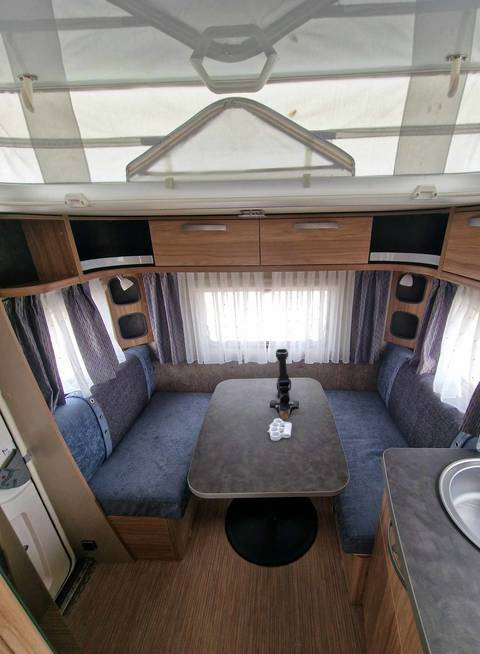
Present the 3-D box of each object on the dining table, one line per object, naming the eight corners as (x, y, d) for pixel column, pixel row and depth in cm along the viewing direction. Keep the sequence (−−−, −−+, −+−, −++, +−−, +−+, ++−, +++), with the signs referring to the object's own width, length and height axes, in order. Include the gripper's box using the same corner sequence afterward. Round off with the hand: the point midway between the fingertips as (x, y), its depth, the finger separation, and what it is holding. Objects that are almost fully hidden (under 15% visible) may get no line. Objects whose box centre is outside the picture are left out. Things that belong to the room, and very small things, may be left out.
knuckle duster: (289, 442, 167) (265, 440, 169) (292, 423, 183) (269, 421, 185) (289, 437, 165) (265, 435, 167) (292, 419, 181) (269, 417, 184)
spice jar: (280, 419, 187) (280, 409, 184) (281, 415, 191) (281, 405, 188) (287, 419, 187) (287, 409, 183) (288, 415, 191) (288, 405, 187)
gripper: (268, 401, 176) (269, 421, 182) (298, 402, 173) (298, 423, 180) (270, 392, 186) (271, 411, 192) (299, 393, 183) (298, 413, 190)
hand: (284, 415), depth 188 cm, fingers open, 7 cm apart
